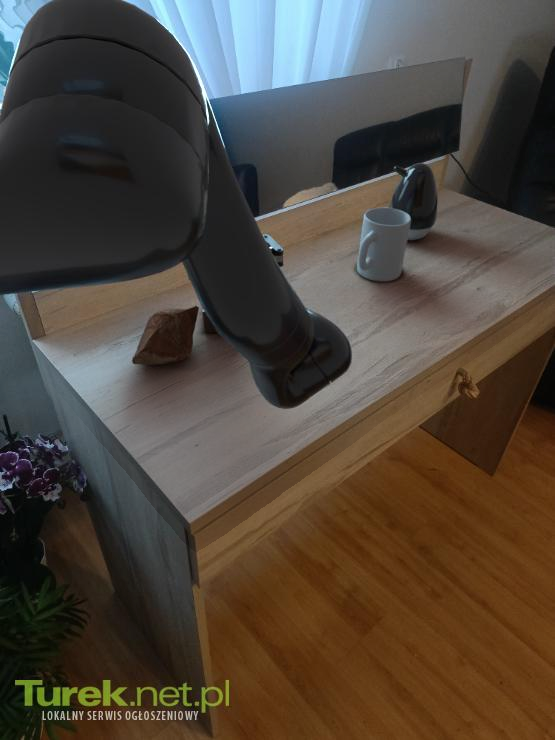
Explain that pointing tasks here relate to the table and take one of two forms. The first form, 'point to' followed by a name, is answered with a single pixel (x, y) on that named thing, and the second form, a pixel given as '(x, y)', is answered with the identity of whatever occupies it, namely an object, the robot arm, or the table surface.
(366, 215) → the mug
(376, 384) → the table surface
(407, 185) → the pump dispenser
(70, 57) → the robot arm
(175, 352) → the fossil
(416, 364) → the table surface
